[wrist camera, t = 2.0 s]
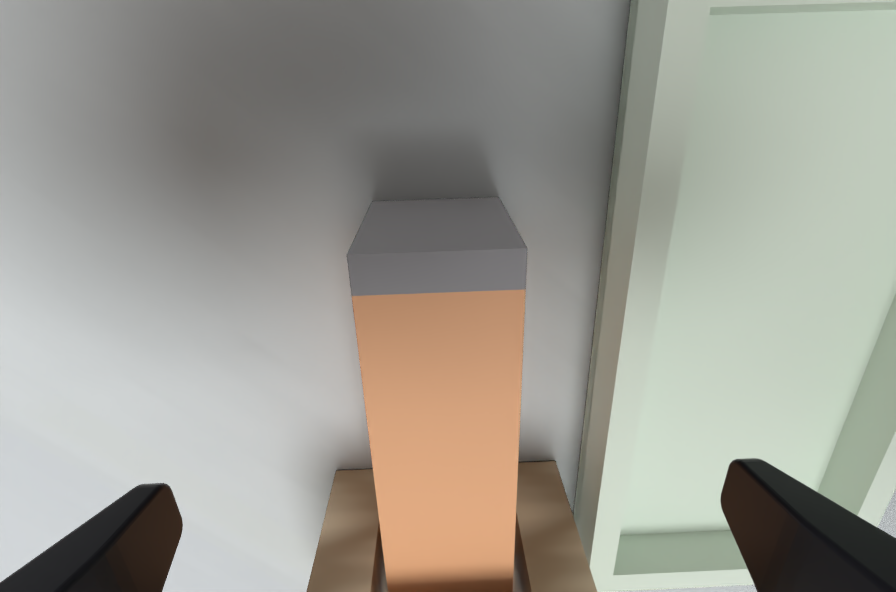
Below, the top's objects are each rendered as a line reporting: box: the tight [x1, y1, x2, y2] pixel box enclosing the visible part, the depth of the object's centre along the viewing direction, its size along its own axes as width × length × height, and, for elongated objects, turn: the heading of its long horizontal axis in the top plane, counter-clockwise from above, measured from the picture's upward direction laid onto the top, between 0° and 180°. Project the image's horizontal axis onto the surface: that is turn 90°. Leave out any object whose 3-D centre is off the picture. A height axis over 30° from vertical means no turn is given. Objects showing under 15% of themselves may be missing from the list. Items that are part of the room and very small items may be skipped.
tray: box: [573, 0, 896, 592], centre depth 16 cm, size 11×22×2 cm, turn 1°
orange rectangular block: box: [347, 197, 527, 592], centre depth 16 cm, size 4×14×5 cm, turn 1°
